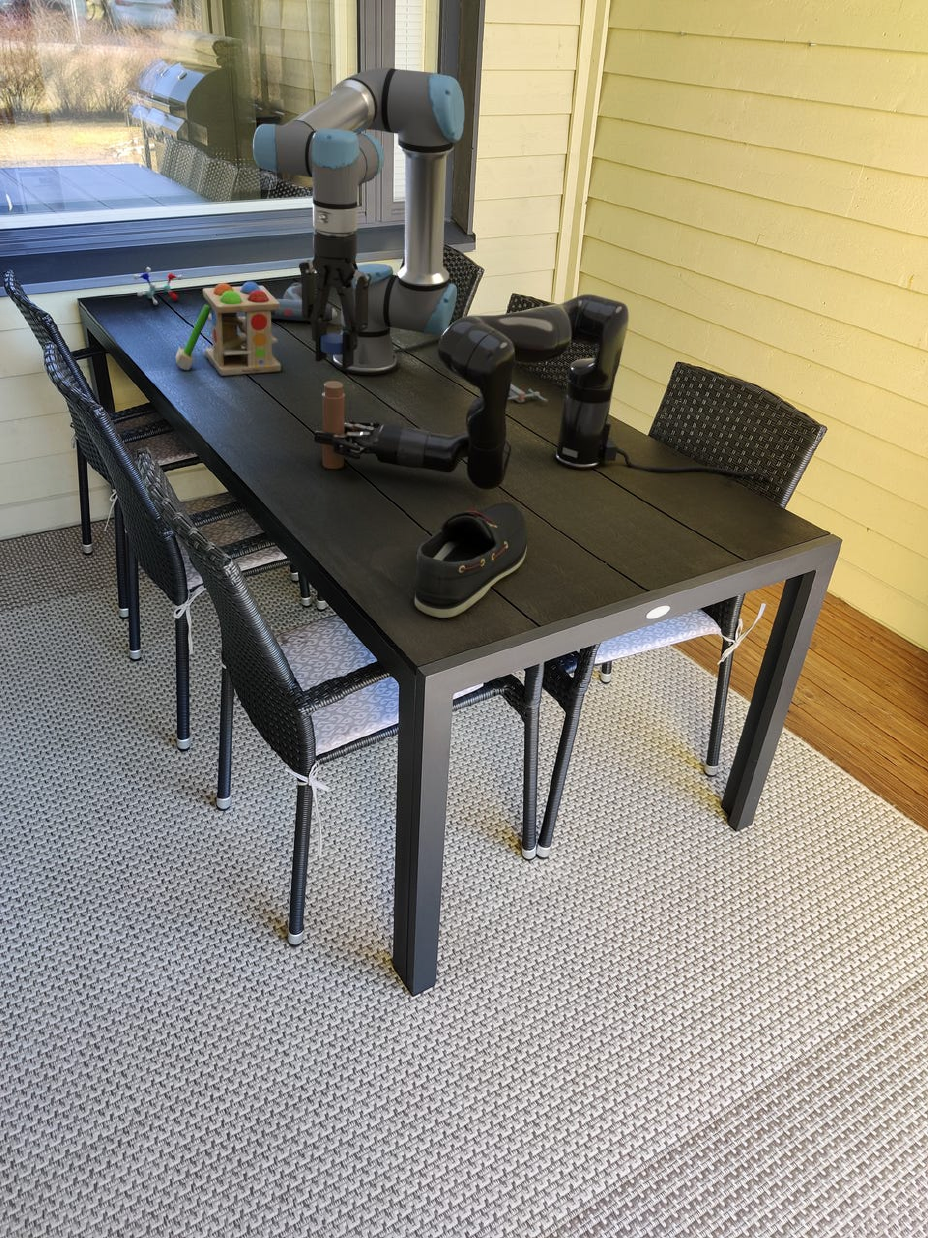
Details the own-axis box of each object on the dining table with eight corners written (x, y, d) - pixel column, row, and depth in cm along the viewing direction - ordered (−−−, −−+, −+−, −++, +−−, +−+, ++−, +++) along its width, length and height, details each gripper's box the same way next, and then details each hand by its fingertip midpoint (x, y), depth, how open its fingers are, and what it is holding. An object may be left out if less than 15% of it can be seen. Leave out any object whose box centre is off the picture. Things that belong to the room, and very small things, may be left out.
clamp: (478, 378, 231) (514, 373, 235) (477, 387, 232) (513, 382, 236) (512, 401, 220) (549, 396, 225) (511, 411, 221) (548, 405, 226)
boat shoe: (553, 546, 173) (559, 493, 167) (451, 625, 149) (454, 565, 143) (491, 526, 178) (495, 473, 173) (382, 598, 154) (383, 540, 149)
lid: (327, 356, 176) (327, 344, 175) (316, 346, 180) (316, 335, 179) (353, 353, 179) (353, 341, 177) (341, 343, 182) (341, 332, 181)
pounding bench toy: (183, 379, 220) (176, 299, 210) (169, 357, 231) (162, 280, 221) (282, 371, 230) (280, 294, 220) (264, 350, 240) (262, 276, 230)
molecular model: (165, 296, 257) (152, 258, 255) (138, 309, 260) (124, 272, 259) (191, 298, 267) (178, 262, 266) (164, 311, 271) (151, 276, 270)
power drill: (344, 304, 276) (335, 327, 259) (277, 298, 275) (264, 321, 258) (344, 285, 273) (335, 306, 256) (277, 279, 272) (264, 300, 255)
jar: (334, 457, 194) (335, 378, 185) (348, 465, 192) (350, 385, 183) (317, 463, 192) (317, 383, 182) (331, 471, 189) (332, 390, 180)
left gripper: (278, 225, 167) (281, 357, 181) (369, 245, 162) (366, 380, 175) (302, 217, 173) (304, 346, 186) (392, 236, 167) (387, 367, 181)
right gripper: (416, 414, 190) (331, 399, 192) (395, 442, 178) (306, 427, 181) (413, 449, 194) (331, 435, 197) (393, 479, 182) (306, 464, 185)
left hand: (334, 362), depth 181 cm, fingers closed on lid, 5 cm apart
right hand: (319, 431), depth 189 cm, fingers closed on jar, 4 cm apart
